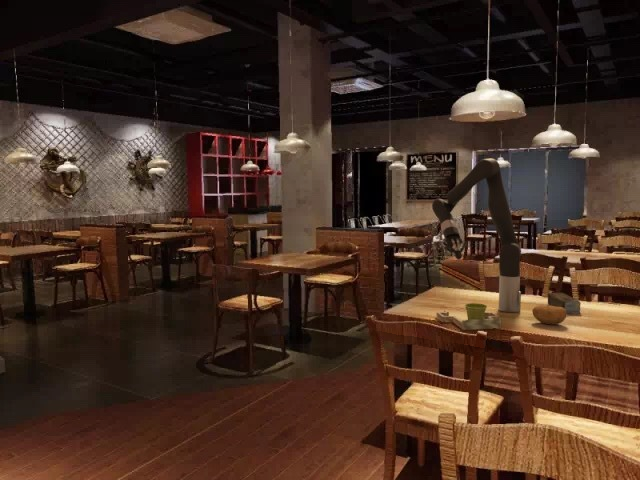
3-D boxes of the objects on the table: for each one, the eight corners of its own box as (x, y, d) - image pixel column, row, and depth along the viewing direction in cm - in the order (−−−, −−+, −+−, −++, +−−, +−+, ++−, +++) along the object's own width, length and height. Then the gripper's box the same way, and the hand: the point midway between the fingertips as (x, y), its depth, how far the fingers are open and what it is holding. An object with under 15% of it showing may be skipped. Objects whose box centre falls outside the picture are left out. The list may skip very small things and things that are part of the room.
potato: (533, 319, 232) (533, 302, 231) (567, 323, 225) (567, 305, 225) (530, 324, 224) (530, 306, 223) (565, 328, 217) (566, 310, 216)
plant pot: (467, 327, 219) (467, 308, 218) (461, 321, 229) (462, 302, 228) (489, 327, 219) (489, 308, 218) (482, 321, 228) (483, 302, 228)
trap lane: (486, 314, 242) (486, 305, 241) (510, 327, 219) (510, 318, 218) (434, 316, 239) (434, 307, 238) (453, 330, 216) (453, 321, 215)
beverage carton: (563, 314, 242) (564, 300, 241) (546, 304, 261) (547, 291, 260) (580, 314, 242) (581, 300, 241) (562, 304, 261) (562, 291, 260)
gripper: (439, 226, 252) (448, 254, 241) (464, 225, 254) (474, 253, 243) (435, 236, 258) (444, 263, 247) (460, 235, 259) (470, 262, 249)
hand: (459, 258), depth 245 cm, fingers closed
